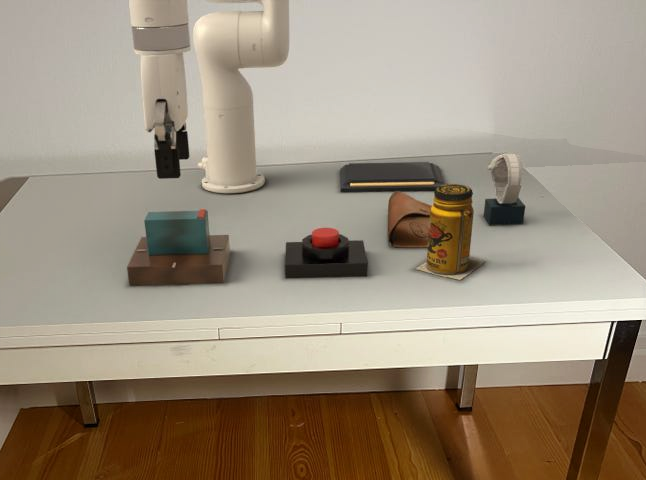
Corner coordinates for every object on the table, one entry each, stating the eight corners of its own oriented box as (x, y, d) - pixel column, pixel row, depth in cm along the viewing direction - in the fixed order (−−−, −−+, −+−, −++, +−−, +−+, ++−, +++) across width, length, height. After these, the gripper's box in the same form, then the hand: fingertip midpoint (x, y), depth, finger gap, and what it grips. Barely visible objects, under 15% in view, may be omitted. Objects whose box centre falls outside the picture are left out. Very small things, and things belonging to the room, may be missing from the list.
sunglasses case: (443, 245, 118) (423, 210, 115) (402, 266, 120) (382, 232, 118) (436, 207, 133) (418, 175, 131) (400, 226, 136) (382, 195, 133)
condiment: (414, 270, 112) (419, 190, 106) (442, 251, 117) (448, 175, 111) (459, 281, 107) (467, 200, 101) (486, 262, 113) (495, 183, 107)
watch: (513, 211, 131) (521, 147, 125) (525, 227, 124) (535, 161, 118) (480, 212, 131) (487, 149, 126) (491, 229, 124) (499, 162, 119)
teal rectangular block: (148, 255, 113) (143, 218, 110) (152, 246, 116) (148, 210, 114) (208, 253, 113) (204, 217, 110) (210, 244, 116) (207, 208, 113)
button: (312, 248, 111) (312, 237, 110) (311, 238, 115) (311, 227, 114) (339, 248, 111) (339, 236, 110) (338, 238, 114) (338, 227, 113)
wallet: (439, 159, 154) (446, 181, 141) (438, 168, 155) (445, 191, 142) (340, 160, 156) (338, 182, 143) (340, 169, 157) (338, 192, 144)
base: (128, 287, 111) (125, 267, 109) (144, 252, 122) (142, 234, 121) (223, 285, 110) (221, 265, 108) (230, 250, 121) (229, 232, 120)
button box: (285, 278, 111) (284, 253, 109) (286, 255, 119) (285, 231, 117) (367, 276, 110) (368, 251, 108) (362, 253, 118) (363, 228, 116)
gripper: (145, 33, 108) (158, 153, 116) (120, 49, 93) (137, 186, 101) (197, 31, 107) (206, 152, 116) (181, 47, 92) (192, 185, 101)
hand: (174, 168), depth 108 cm, fingers open, 9 cm apart
